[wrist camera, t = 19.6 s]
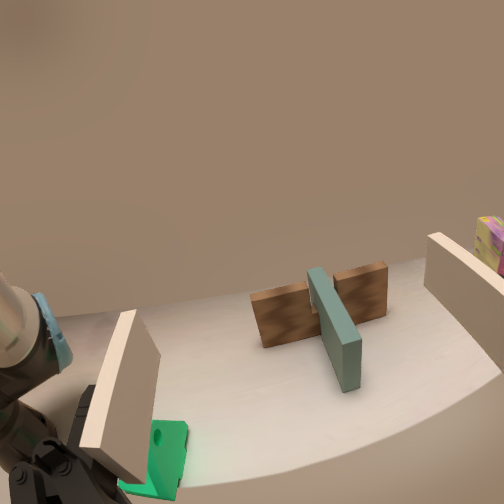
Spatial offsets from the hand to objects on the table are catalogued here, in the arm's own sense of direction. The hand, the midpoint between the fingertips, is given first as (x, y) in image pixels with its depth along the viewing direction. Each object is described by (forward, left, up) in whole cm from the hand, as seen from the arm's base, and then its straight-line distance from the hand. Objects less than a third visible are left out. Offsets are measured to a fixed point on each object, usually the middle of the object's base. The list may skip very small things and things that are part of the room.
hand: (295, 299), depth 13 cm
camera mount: (-20, +8, -29) cm, 36 cm away
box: (+44, +26, -29) cm, 59 cm away
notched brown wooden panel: (+7, +28, -29) cm, 41 cm away
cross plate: (+7, +23, -29) cm, 38 cm away
